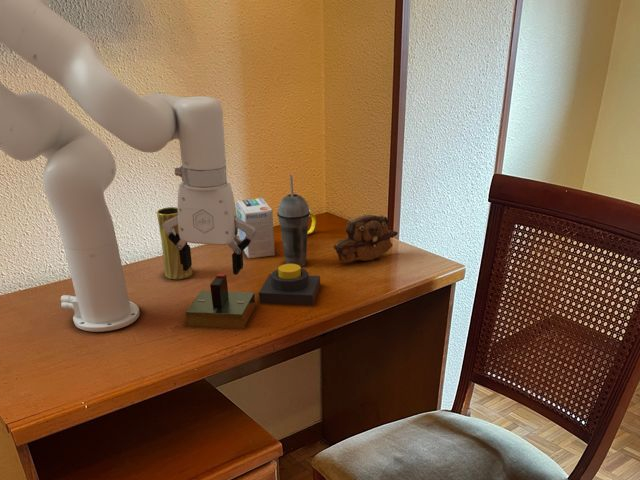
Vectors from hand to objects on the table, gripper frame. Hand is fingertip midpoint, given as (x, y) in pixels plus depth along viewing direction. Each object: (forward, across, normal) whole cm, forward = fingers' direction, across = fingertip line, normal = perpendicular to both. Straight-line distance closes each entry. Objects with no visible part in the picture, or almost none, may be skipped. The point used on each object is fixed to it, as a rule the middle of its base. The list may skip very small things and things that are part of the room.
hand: (212, 270), depth 125 cm
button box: (+9, +13, +12) cm, 19 cm away
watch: (+9, +10, +49) cm, 50 cm away
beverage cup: (+9, +11, +29) cm, 32 cm away
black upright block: (+6, +1, 0) cm, 6 cm away
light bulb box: (+10, 0, +37) cm, 38 cm away
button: (+5, +13, +12) cm, 18 cm away
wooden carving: (+8, +27, +33) cm, 43 cm away
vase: (+10, -14, +20) cm, 26 cm away
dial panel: (+9, +1, 0) cm, 9 cm away
